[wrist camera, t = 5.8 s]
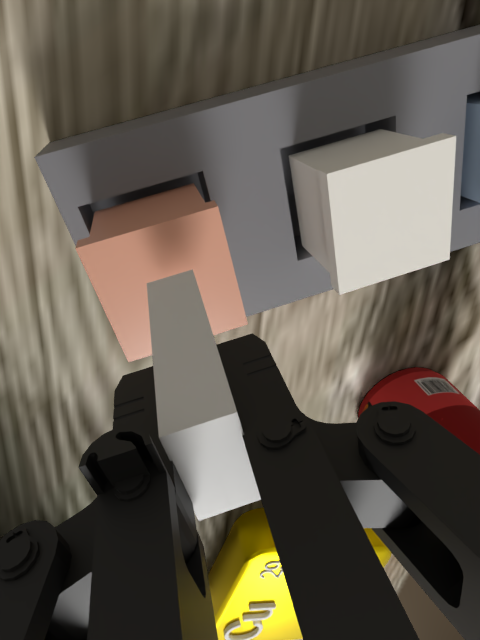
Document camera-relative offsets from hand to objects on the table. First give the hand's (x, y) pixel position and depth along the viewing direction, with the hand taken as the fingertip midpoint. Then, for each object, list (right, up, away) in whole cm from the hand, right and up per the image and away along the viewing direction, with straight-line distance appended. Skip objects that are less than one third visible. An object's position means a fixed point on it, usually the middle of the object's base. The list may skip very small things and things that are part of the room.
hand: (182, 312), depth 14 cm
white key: (+7, +6, +7) cm, 11 cm away
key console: (+6, +8, +10) cm, 14 cm away
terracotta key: (-2, +3, +6) cm, 7 cm away
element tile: (+6, -24, +29) cm, 38 cm away
